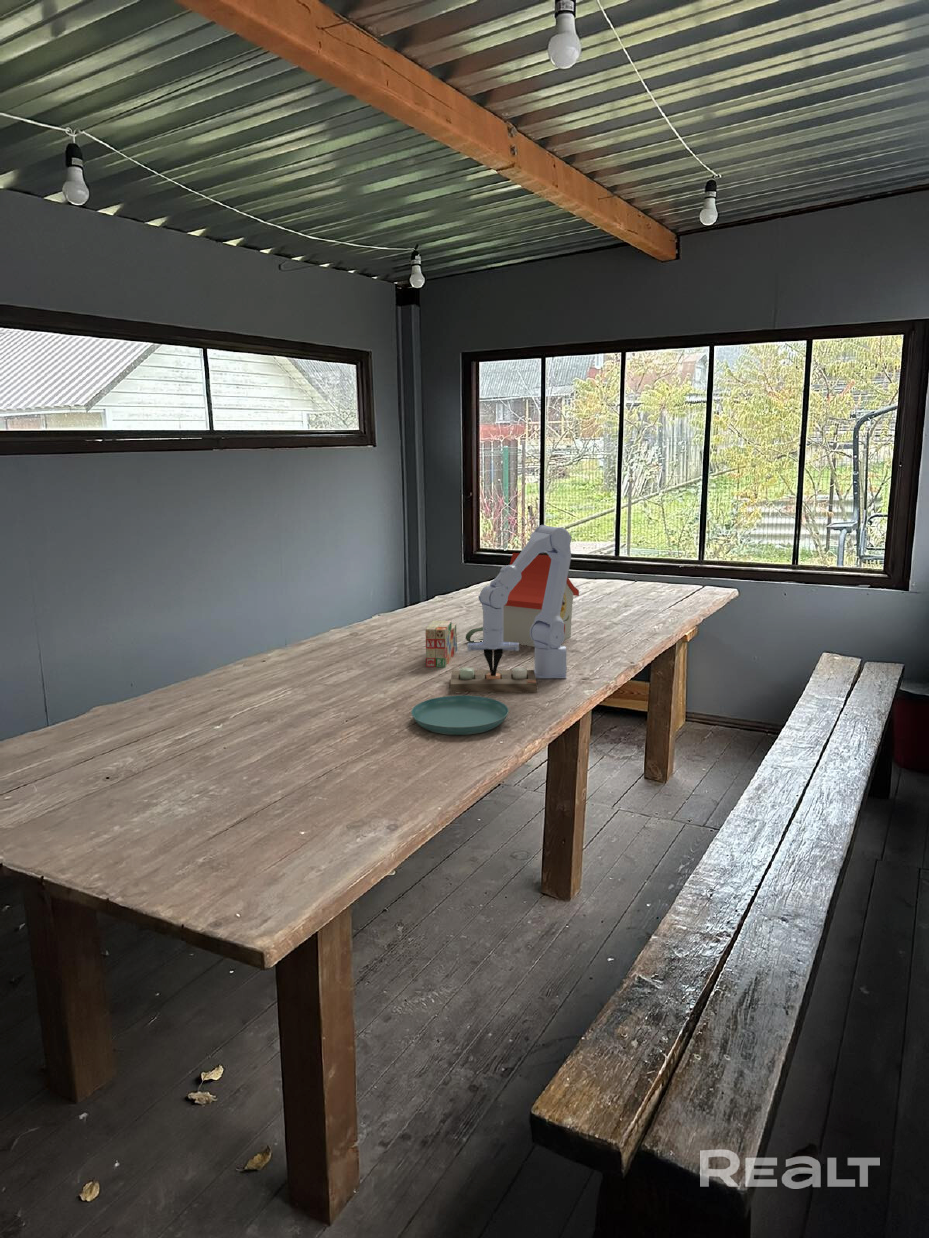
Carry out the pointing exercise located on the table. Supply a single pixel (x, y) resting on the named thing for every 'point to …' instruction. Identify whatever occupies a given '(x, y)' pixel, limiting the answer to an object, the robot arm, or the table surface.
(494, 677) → the terracotta button
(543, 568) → the birdhouse
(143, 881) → the table surface
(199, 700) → the table surface
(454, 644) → the stack of blocks
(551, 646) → the robot arm
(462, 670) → the sage button
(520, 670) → the cream button
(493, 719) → the saucer
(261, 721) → the table surface
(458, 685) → the panel
